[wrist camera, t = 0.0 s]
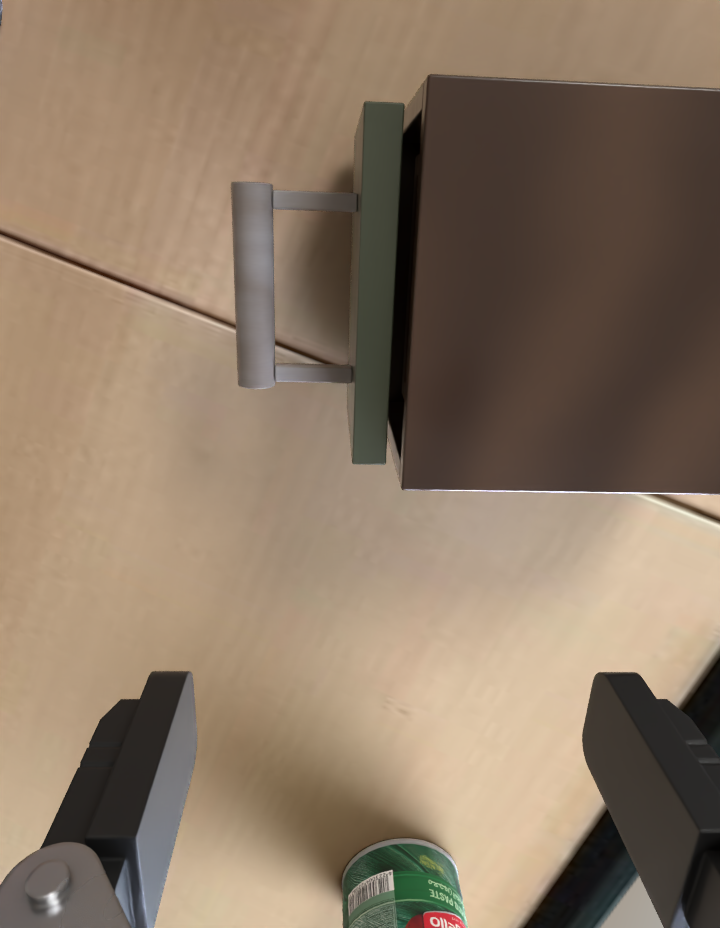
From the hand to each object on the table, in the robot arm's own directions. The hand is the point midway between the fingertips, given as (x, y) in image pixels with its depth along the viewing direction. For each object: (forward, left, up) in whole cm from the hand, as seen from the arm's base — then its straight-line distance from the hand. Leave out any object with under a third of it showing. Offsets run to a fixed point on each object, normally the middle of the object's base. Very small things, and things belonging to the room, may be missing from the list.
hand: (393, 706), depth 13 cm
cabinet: (-7, +9, -20) cm, 23 cm away
